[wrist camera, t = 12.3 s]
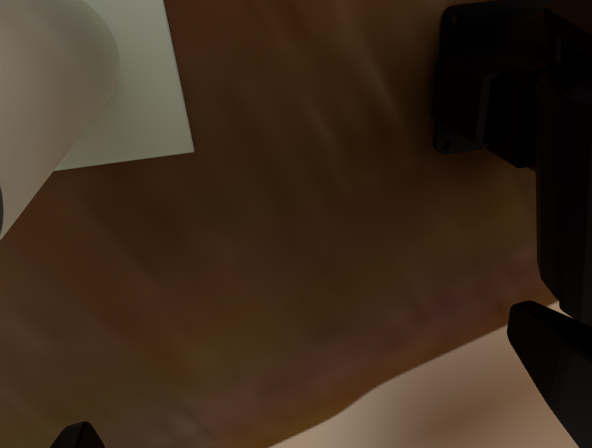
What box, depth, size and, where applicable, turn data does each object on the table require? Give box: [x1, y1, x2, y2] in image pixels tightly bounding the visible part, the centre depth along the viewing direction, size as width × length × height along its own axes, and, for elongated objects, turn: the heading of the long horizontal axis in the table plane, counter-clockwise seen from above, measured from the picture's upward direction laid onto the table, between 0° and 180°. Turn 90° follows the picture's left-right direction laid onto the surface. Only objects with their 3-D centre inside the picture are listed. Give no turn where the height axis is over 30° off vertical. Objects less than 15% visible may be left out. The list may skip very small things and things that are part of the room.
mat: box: [54, 0, 194, 171], centre depth 17 cm, size 9×9×1 cm
